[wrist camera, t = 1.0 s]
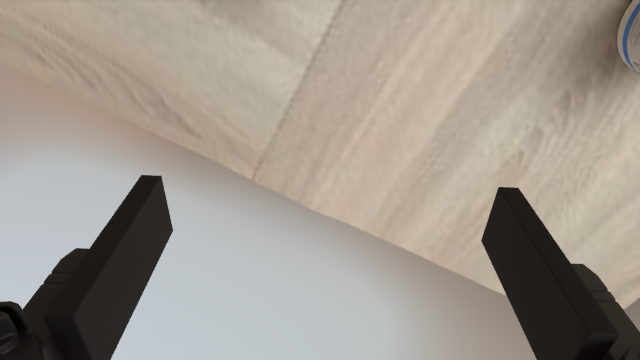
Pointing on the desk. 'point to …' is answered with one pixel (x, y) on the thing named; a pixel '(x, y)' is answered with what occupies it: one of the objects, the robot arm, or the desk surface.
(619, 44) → the supplement tub
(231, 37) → the desk surface
